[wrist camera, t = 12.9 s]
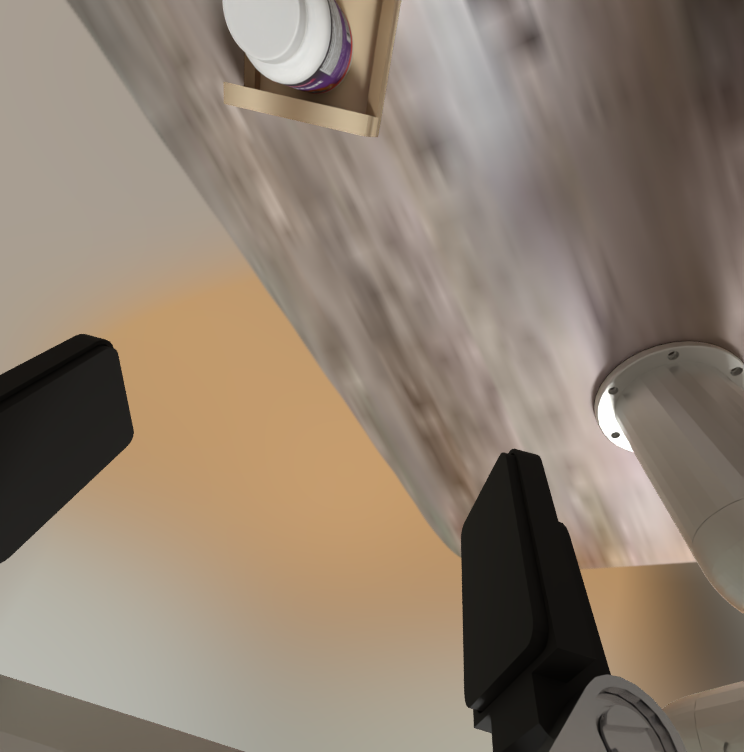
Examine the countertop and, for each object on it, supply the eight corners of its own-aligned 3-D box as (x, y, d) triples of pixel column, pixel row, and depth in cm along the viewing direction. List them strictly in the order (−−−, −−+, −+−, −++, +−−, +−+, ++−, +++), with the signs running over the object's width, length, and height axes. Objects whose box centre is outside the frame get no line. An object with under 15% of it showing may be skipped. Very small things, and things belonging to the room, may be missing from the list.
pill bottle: (275, 81, 28) (204, 56, 20) (287, -17, 25) (210, -92, 17) (344, 106, 28) (301, 92, 20) (364, 11, 26) (324, -50, 17)
